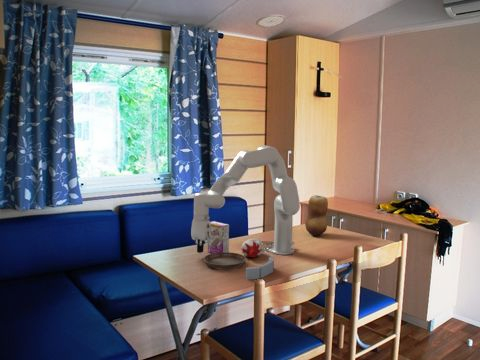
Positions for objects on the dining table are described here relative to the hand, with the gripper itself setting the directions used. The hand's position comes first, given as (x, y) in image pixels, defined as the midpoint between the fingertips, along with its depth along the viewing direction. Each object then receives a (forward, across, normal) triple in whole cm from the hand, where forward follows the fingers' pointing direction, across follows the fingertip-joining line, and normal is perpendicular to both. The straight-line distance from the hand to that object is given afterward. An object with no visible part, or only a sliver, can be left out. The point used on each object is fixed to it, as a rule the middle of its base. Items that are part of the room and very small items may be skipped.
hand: (200, 252), depth 222 cm
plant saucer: (+3, -16, 0) cm, 16 cm away
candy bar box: (+3, -3, -11) cm, 12 cm away
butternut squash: (+2, -27, -79) cm, 84 cm away
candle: (+3, -20, -18) cm, 27 cm away
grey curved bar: (+3, -38, 0) cm, 38 cm away
